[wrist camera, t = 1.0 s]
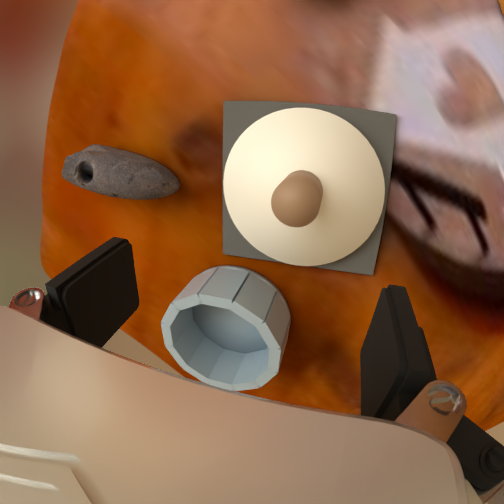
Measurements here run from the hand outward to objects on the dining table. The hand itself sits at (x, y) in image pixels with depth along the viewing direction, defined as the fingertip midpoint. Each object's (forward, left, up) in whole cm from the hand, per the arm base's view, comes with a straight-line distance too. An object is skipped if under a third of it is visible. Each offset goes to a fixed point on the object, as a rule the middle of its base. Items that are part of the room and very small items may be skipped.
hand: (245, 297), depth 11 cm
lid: (0, +1, -21) cm, 21 cm away
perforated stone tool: (+20, 0, -22) cm, 30 cm away
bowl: (+7, +18, -22) cm, 29 cm away
